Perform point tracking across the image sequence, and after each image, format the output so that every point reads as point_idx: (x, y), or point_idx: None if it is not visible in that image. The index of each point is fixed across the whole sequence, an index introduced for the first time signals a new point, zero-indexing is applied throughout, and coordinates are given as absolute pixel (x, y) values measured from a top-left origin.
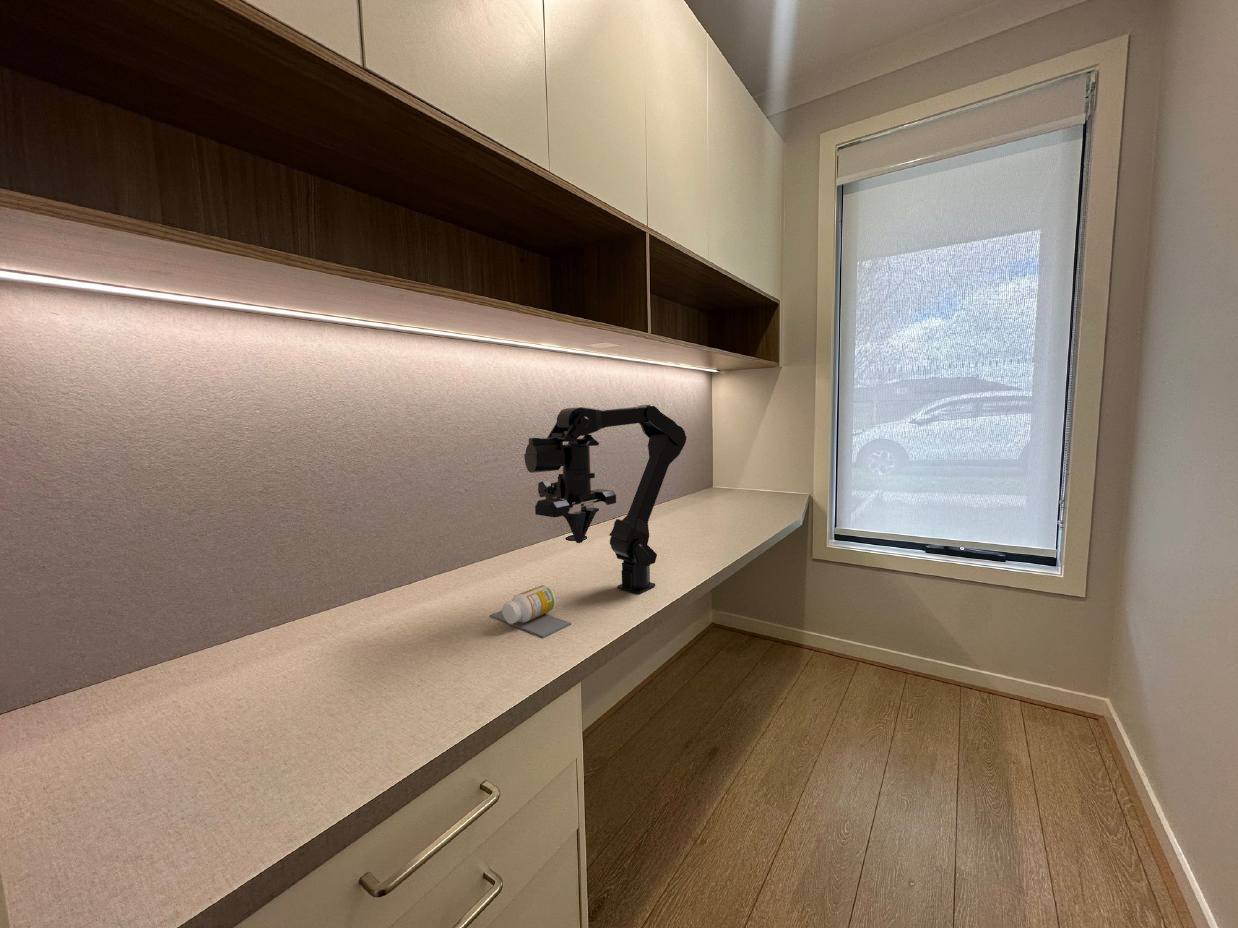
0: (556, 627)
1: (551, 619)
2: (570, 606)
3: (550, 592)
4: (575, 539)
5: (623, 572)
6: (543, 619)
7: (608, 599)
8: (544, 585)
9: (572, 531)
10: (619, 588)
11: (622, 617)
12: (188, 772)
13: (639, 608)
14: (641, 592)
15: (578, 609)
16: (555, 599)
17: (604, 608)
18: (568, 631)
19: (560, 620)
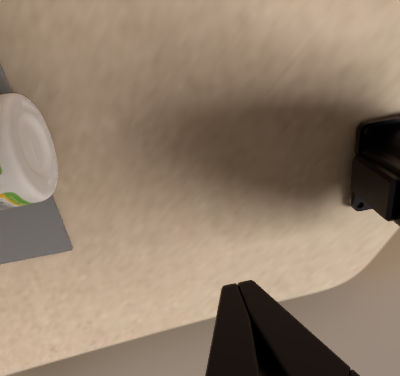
0: (21, 249)
1: None
2: (141, 142)
3: (23, 203)
4: (219, 307)
5: (386, 190)
6: None
7: (266, 177)
8: (5, 169)
9: (208, 373)
10: (356, 136)
11: (202, 286)
12: None
13: (271, 272)
14: (361, 208)
15: (147, 179)
16: (52, 193)
17: (209, 220)
18: (45, 273)
19: (52, 220)
